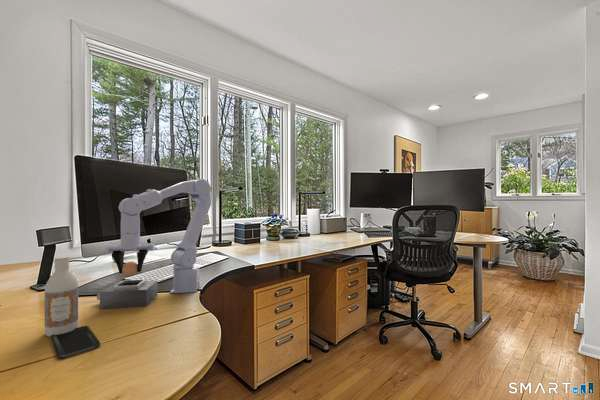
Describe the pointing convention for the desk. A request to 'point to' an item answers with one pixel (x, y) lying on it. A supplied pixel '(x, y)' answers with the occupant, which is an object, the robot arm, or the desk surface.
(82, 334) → the phone
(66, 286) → the bath foam
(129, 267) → the bead
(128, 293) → the grey box with opening
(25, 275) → the desk surface
